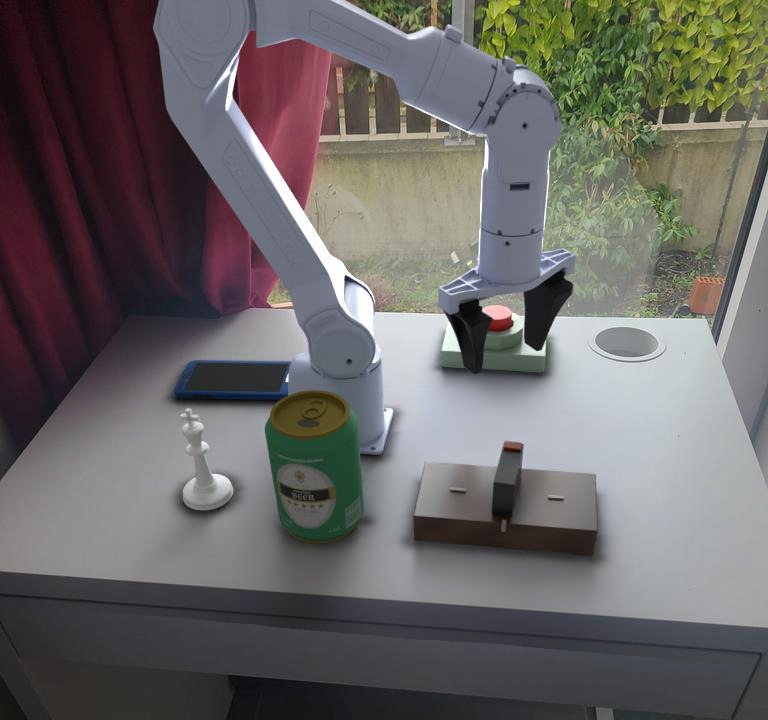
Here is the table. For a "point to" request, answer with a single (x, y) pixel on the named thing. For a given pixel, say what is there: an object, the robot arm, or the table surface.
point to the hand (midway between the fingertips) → (503, 357)
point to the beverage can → (315, 465)
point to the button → (499, 317)
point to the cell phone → (234, 380)
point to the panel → (530, 514)
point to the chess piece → (202, 471)
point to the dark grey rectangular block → (507, 478)
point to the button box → (498, 350)
